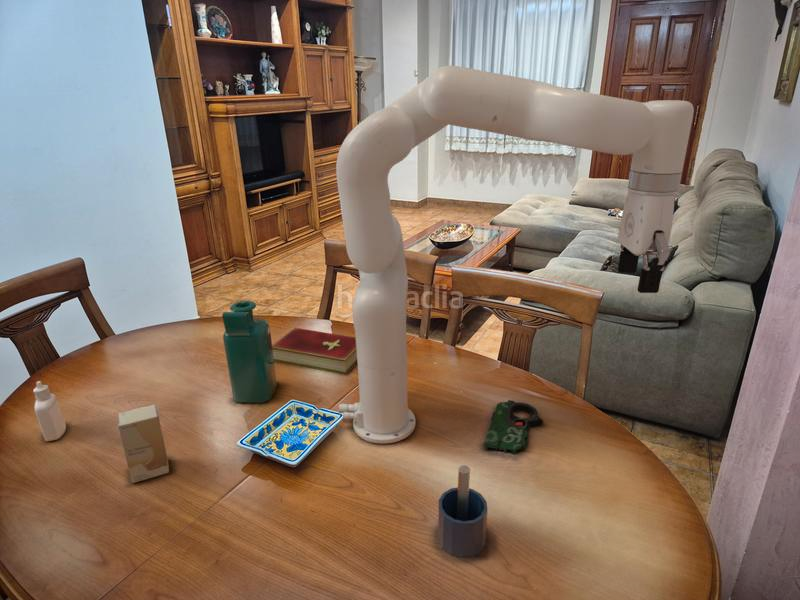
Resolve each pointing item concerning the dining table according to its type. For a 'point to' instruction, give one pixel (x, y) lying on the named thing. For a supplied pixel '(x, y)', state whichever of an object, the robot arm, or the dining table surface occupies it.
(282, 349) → the hardcover book
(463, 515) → the stylus
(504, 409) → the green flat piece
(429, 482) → the dining table surface
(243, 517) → the dining table surface
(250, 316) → the green bottle
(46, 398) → the eye dropper bottle
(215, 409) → the dining table surface
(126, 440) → the cosmetic box
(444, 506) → the pen cup
